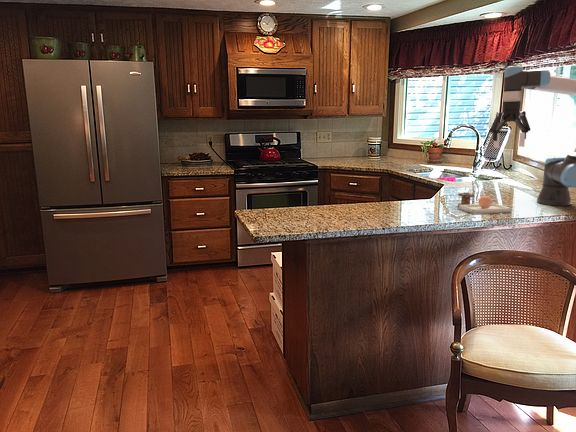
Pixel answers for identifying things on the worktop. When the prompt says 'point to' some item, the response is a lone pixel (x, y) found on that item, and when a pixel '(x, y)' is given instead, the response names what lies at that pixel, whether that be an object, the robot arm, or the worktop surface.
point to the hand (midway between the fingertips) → (508, 147)
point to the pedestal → (465, 198)
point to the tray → (478, 210)
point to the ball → (485, 202)
